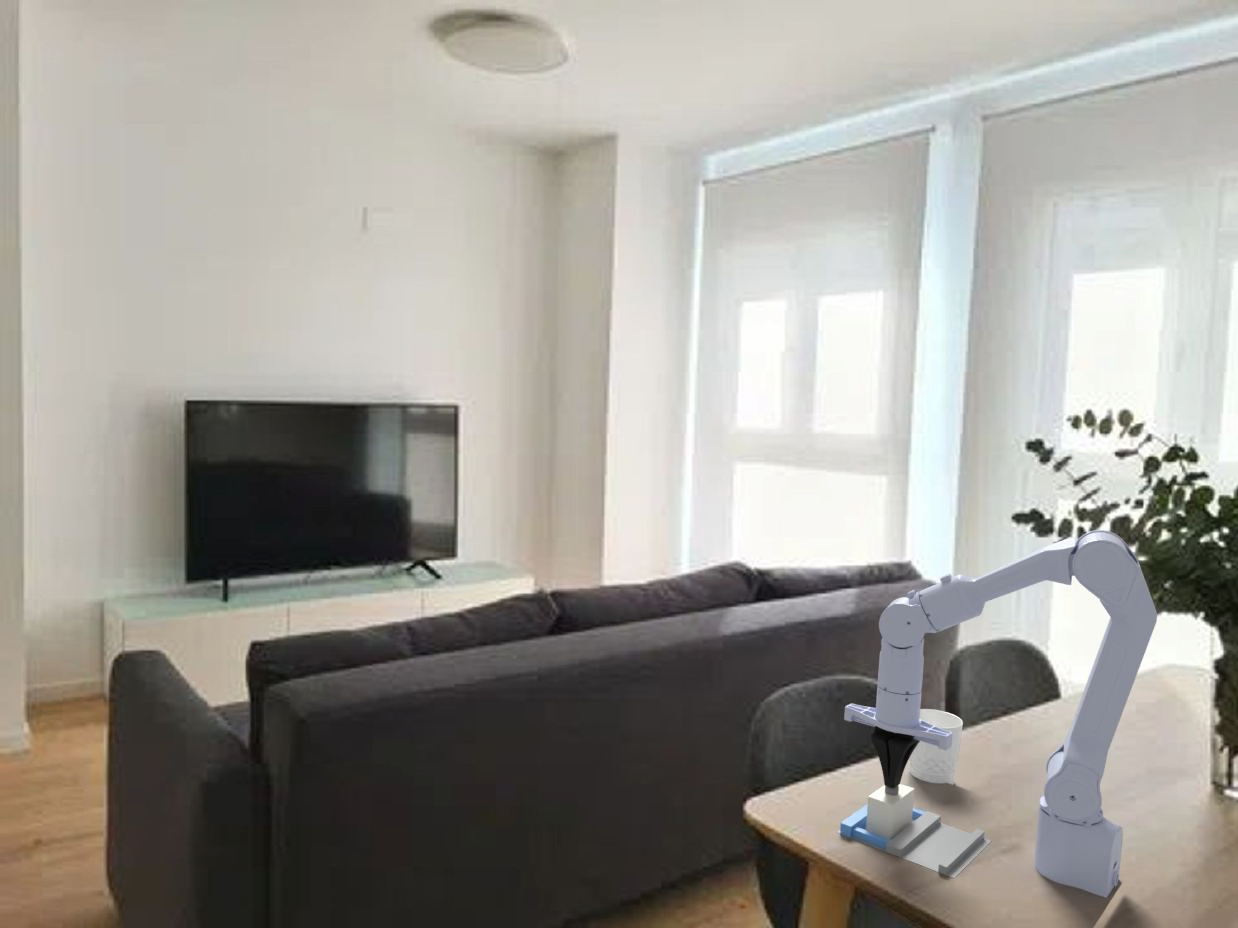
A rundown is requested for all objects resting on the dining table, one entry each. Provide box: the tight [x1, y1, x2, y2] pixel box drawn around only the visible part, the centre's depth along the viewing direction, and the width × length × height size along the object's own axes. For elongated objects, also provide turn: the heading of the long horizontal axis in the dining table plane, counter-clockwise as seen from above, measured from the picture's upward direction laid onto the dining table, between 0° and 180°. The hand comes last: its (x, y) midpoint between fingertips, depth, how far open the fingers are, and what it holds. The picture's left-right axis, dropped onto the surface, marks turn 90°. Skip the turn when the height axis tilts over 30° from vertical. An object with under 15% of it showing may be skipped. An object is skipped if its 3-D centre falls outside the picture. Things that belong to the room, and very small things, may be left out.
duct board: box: [836, 803, 992, 879], centre depth 124 cm, size 16×13×2 cm
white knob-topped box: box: [866, 783, 915, 840], centre depth 126 cm, size 4×7×6 cm, turn 139°
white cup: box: [908, 708, 964, 786], centre depth 144 cm, size 8×8×10 cm
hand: (892, 784), depth 126 cm, fingers closed
